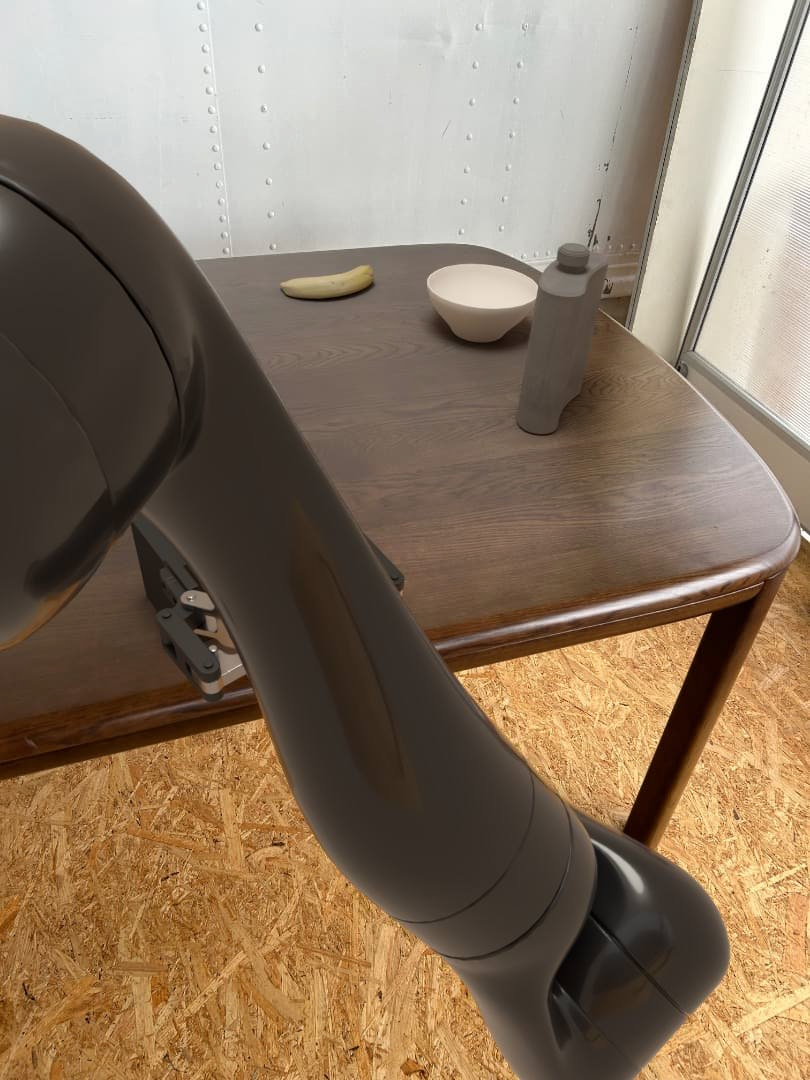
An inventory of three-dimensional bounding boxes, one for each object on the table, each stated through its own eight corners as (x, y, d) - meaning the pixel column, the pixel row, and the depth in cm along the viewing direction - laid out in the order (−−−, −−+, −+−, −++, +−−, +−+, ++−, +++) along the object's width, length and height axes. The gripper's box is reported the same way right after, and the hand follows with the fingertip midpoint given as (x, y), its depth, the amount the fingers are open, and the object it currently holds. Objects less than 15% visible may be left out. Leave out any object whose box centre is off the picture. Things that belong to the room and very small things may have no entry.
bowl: (474, 367, 107) (480, 318, 102) (401, 323, 116) (403, 277, 111) (554, 338, 115) (563, 292, 110) (480, 300, 124) (485, 256, 119)
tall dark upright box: (184, 650, 65) (169, 570, 60) (146, 595, 70) (128, 516, 64) (228, 631, 67) (217, 551, 62) (187, 578, 72) (174, 500, 66)
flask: (543, 375, 106) (570, 224, 93) (584, 386, 104) (618, 233, 91) (504, 426, 95) (530, 263, 82) (550, 439, 94) (583, 275, 81)
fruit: (385, 295, 124) (386, 275, 121) (292, 306, 118) (292, 285, 116) (368, 278, 129) (369, 258, 126) (279, 288, 123) (278, 267, 121)
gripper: (477, 602, 43) (320, 463, 53) (247, 723, 36) (114, 538, 46) (465, 689, 48) (322, 547, 58) (259, 811, 41) (136, 627, 51)
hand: (230, 543), depth 52 cm, fingers open, 8 cm apart
